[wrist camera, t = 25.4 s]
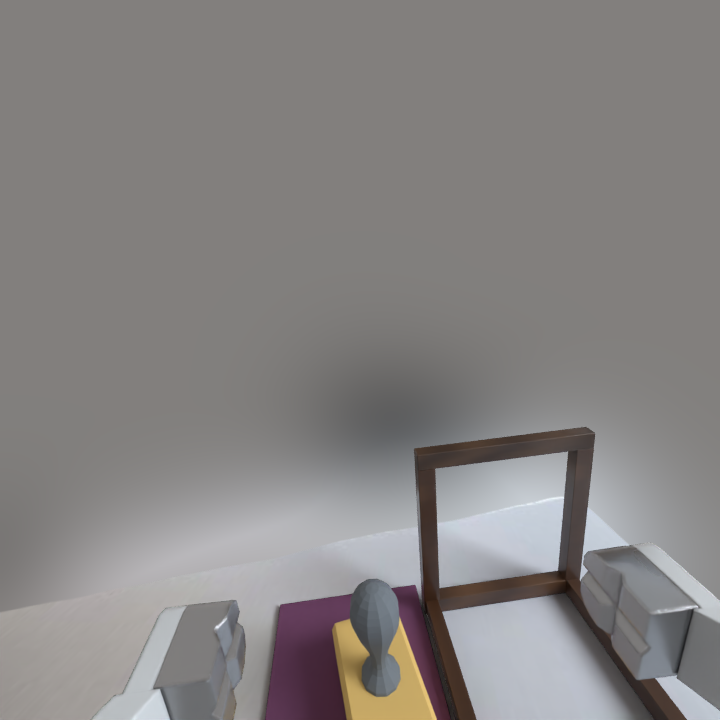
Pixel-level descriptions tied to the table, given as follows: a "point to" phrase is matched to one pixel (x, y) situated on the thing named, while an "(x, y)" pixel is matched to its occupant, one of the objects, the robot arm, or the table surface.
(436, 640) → the stamp rack
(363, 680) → the rubber stamp
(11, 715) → the table surface
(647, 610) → the robot arm
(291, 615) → the felt pad
